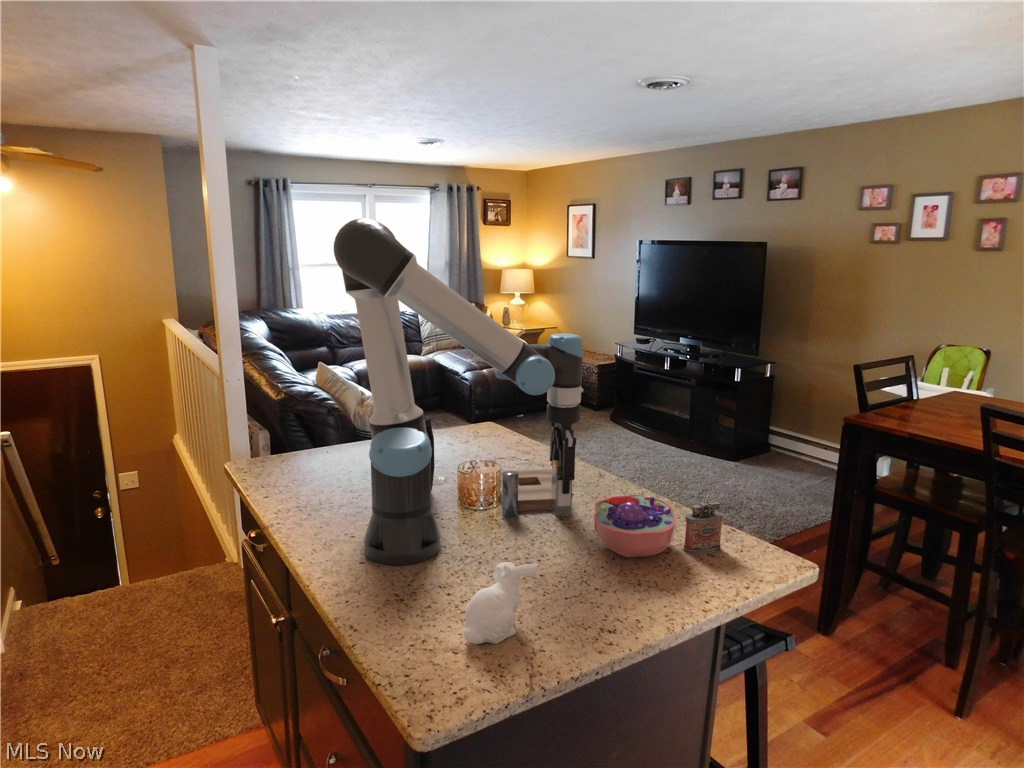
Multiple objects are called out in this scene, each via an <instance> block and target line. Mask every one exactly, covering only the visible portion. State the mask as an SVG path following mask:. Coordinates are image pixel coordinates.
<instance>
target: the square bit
mask: <svg viewBox="0 0 1024 768" xmlns="http://www.w3.org/2000/svg"><path fill="white" fill-rule="evenodd" d="M551 469H552V497H551V509H550V510H551V512H552V513H553V515H554V516H555V517H558V516H559V517H560V516H572V503H573V502H572V500H573V480H571V498H570V506H558V486H559V480H557V478H559V477H560V460H553V465H551Z"/></svg>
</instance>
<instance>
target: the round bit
mask: <svg viewBox="0 0 1024 768" xmlns="http://www.w3.org/2000/svg"><path fill="white" fill-rule="evenodd" d="M516 471H517V470H504V472H503V480H502V505H501V517H503V518H506V519H514V518H517V517H518V516H519V513H518V512H519V511H518V478H519V473H518V472H516Z"/></svg>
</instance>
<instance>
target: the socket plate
mask: <svg viewBox="0 0 1024 768" xmlns="http://www.w3.org/2000/svg"><path fill="white" fill-rule="evenodd" d="M500 471H501V488H500V499H499V502H500V501H501V502H500V504H501V506H502V480H503V472H504V471H505V470H504V471H503V470H500ZM515 471H516V472H518V473H519V478H518V512H521V511H537V510H539V511H541V510H551V497H552V494H551V482H552V468H549V469H548V468H545V469H544V468H543V469H526V470H523V469H522V470H515Z"/></svg>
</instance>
